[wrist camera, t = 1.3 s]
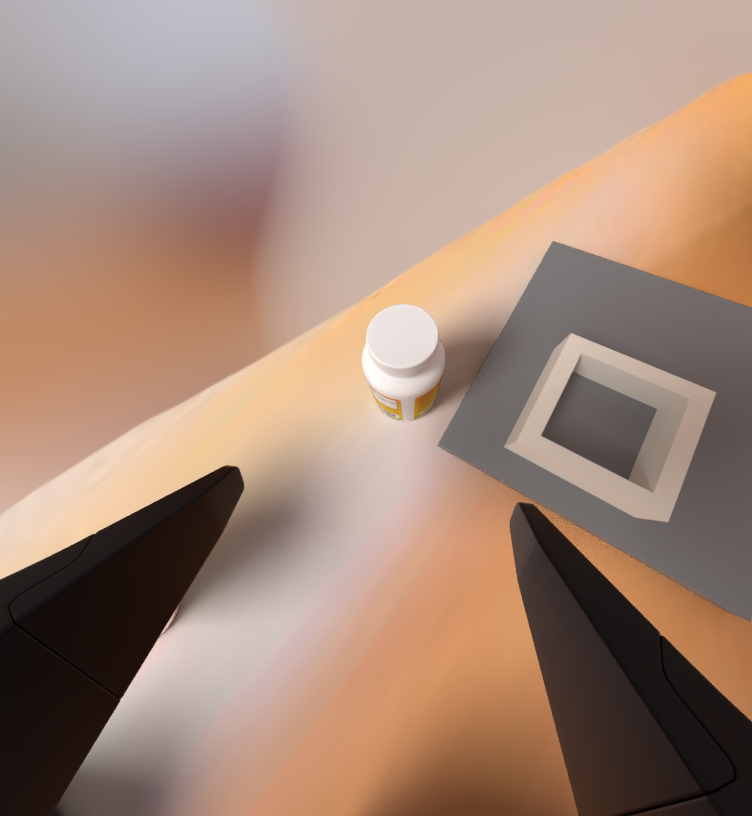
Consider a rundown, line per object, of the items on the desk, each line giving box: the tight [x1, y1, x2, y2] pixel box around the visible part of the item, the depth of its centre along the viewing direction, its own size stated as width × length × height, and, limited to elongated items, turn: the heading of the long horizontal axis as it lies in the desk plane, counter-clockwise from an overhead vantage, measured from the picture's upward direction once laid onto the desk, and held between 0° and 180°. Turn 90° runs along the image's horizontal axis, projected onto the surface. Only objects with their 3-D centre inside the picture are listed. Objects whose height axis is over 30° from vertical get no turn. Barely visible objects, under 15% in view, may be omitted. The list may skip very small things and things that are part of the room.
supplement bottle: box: [362, 304, 445, 421], centre depth 19 cm, size 5×5×10 cm
